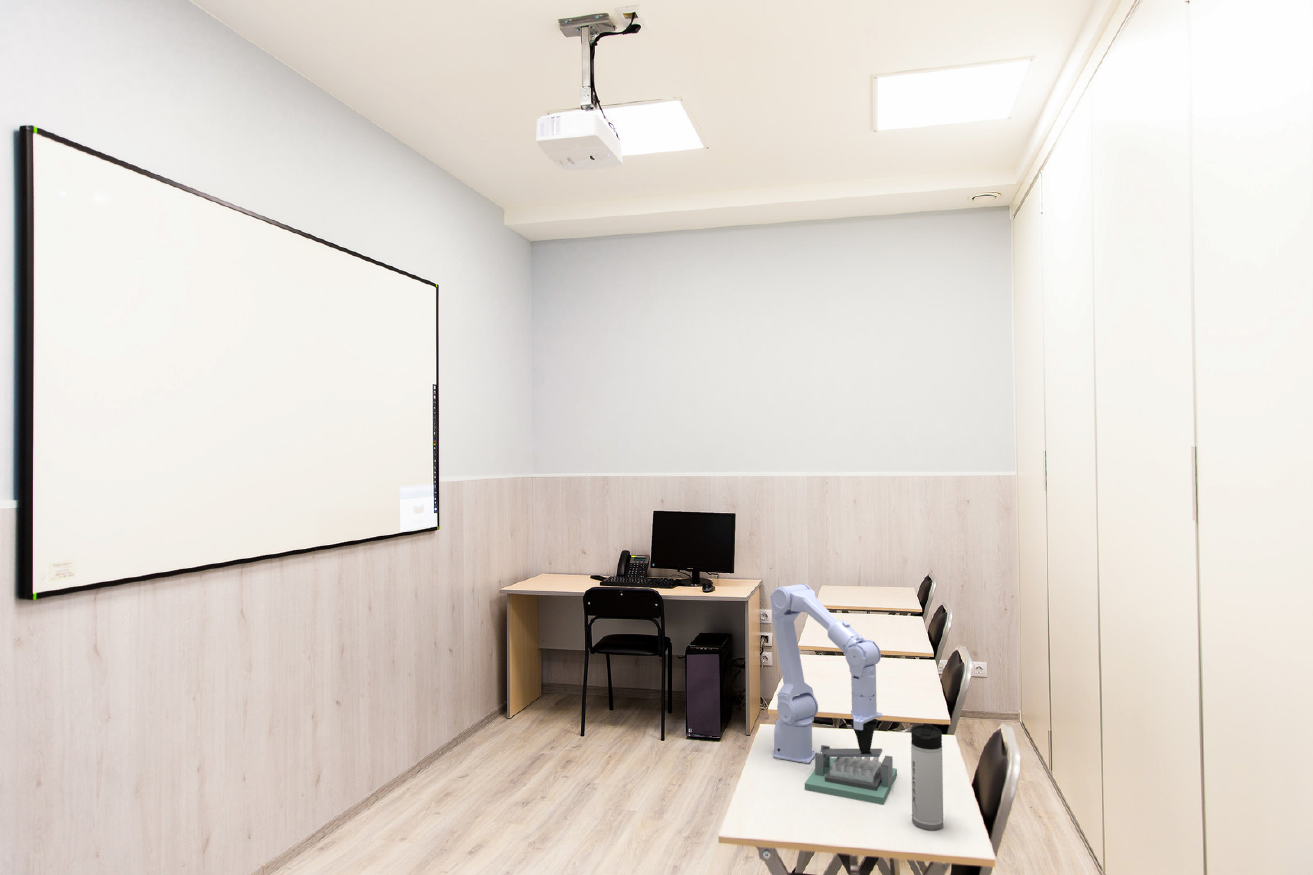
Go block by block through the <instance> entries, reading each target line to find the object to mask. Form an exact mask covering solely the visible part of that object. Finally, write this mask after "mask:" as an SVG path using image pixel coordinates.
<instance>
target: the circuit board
mask: <svg viewBox="0 0 1313 875" xmlns="http://www.w3.org/2000/svg"><path fill="white" fill-rule="evenodd" d="M836 758H837V757H830V767H829V768H827V767H824V776H819V775H815V768H814V769H813V771H812V772H811V774H809V776H808V778H807V780H805V782H804V790H805V791H809V792H813V793H814V792H815V793H821V794H825V795H831V796H836V797H840V798H841V797H842V798H846V799H853V800H856V801H857V800H858V801H862V802H863V801H864V802H868V803H873V804H878V805H884V804H885V802H886V801H887V798H888V796H889V794H890V792H891V789H892V788H893V784H894V782H895V780H896V778H897V776H898V769H897V768H894V767H893V778H892V781H891V783H890V785H889V787H882V786H881V770H880V772H879V774H878V776H877V778H876V780H875V782H874V784H870V783H864V782H859V781H853V780H848V779H842V778H836V777H831V776H830V769H831V768H832V764H833V762H834V761H835V759H836Z"/></svg>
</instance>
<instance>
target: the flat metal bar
mask: <svg viewBox="0 0 1313 875" xmlns="http://www.w3.org/2000/svg"><path fill="white" fill-rule="evenodd" d="M819 753H821V754H824V757H830V758H837V757H854V758H855V757H862V758H865V757H870V758H874V757H879V758H880V757H881V755H882V753H883V748H871V749H870V751H869V752H868V753H866V752H860V749H859V748H830V749H826V748H823V749H822V750H821V749H820V752H819Z"/></svg>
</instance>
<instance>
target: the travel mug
mask: <svg viewBox="0 0 1313 875" xmlns="http://www.w3.org/2000/svg"><path fill="white" fill-rule="evenodd" d="M910 730H911V731H910V734H911V736H910V738H911V742H910V744H911V745H910V746H911V747H910V748H911V749H910V750H911V751H910V752H911V754H910V756H911V757H910V758H911V762H910V763H911V766H910V767H911V820H912V821H911V822H912V824H914V826H916V827H917V828H920V829H923V830H925V831H926V830H927V831H937V830H940V829H942V828H943V827H944V784H943V783H944V782H943V780H944V777H943V775H944V774H943V773H944V772H943V767H944V766H943V765H944V764H943V733H942V731H941V729H940V728H938V727H936V726H934V725H933V724H932V723H925V722H924V723H923V724H917V725H914V726H913V727H912V728H911V729H910Z"/></svg>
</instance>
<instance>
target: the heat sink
mask: <svg viewBox="0 0 1313 875" xmlns="http://www.w3.org/2000/svg"><path fill="white" fill-rule="evenodd" d="M823 748H826V749H831V745H825V744H821V745H820V751H821V750H822V749H823ZM830 758H831V757H824V754H821V753H820V752H817V753H815V756H814V764H815V766H814V767H815V768H814V769H815V775H819V776H824V767H827V768H829V767H830ZM835 758H836V759H835V761H834V762H833V764H832V768H831V769H830V776H831V777H836V778H842V779H848V780H853V781H859V782H864V783H870V784H874V782H875V780H876V778H877V776H878V774H879V772H880V770H881V786H882V787H889V785H890V783H891V781H892V778H893V768H894V767H893V764H894V763H893V762H894V761H893V760H894V759H893V756H891V755H885V756H884V758H883V760H882V761H879V758H880V757H872V759H871V757H835Z"/></svg>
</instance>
